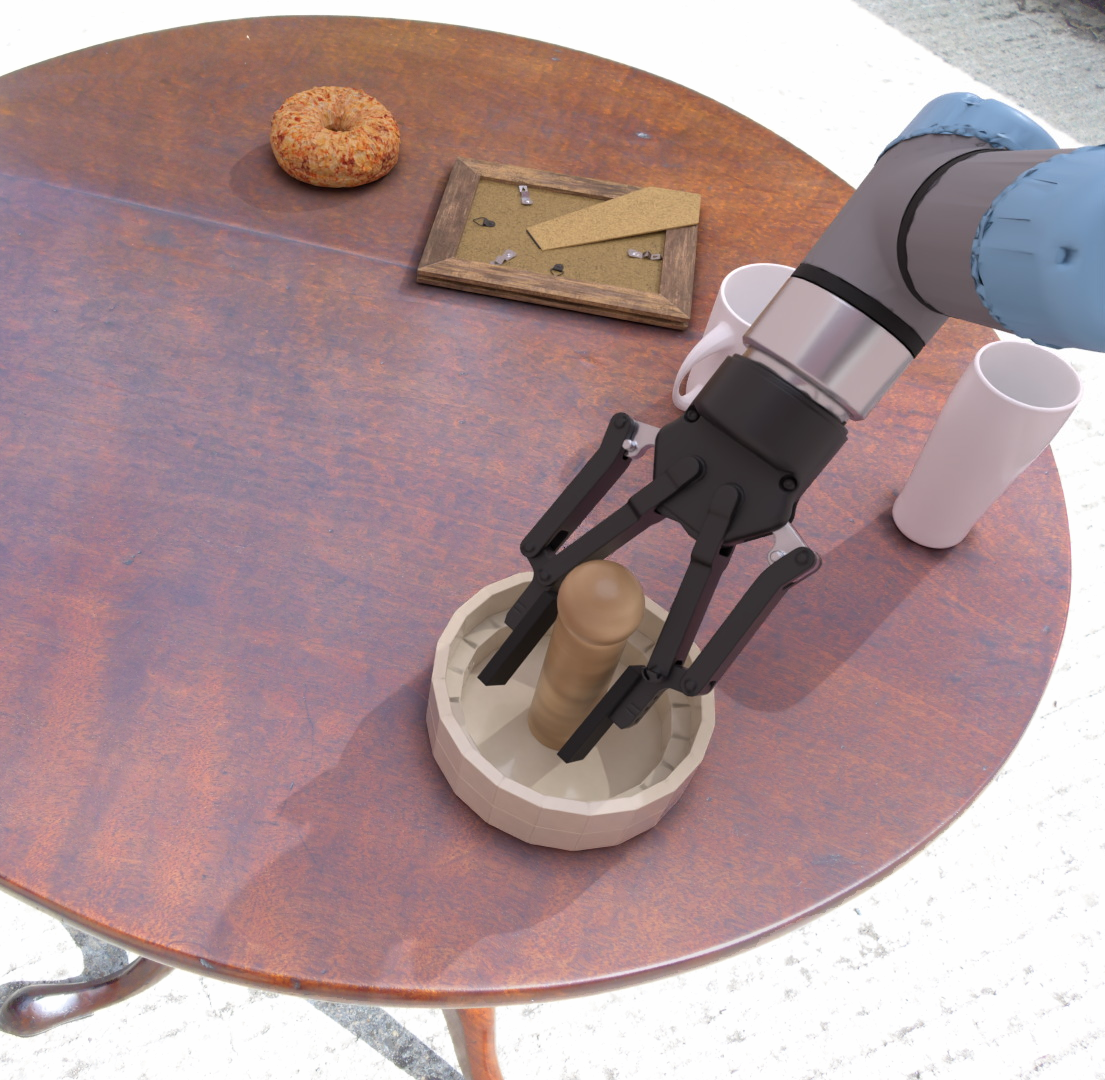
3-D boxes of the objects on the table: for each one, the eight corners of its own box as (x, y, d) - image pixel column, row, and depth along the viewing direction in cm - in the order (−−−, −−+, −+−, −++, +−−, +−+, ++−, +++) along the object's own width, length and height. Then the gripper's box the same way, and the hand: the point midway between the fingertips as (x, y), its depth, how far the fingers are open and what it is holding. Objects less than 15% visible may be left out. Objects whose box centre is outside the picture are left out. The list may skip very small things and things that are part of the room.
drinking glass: (885, 478, 82) (977, 326, 70) (976, 507, 81) (1086, 356, 69) (873, 541, 78) (969, 391, 66) (969, 572, 77) (1085, 424, 65)
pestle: (606, 709, 68) (666, 563, 56) (580, 767, 65) (637, 627, 53) (539, 679, 69) (583, 529, 57) (511, 735, 66) (551, 591, 54)
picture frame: (696, 210, 103) (455, 170, 106) (701, 194, 102) (457, 153, 104) (685, 333, 92) (416, 284, 94) (691, 316, 90) (417, 267, 93)
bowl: (721, 681, 70) (747, 635, 66) (640, 903, 61) (664, 866, 56) (490, 582, 74) (500, 532, 70) (380, 775, 65) (384, 732, 61)
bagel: (253, 184, 103) (250, 136, 99) (292, 112, 111) (290, 66, 107) (383, 206, 101) (385, 159, 98) (413, 132, 110) (416, 85, 106)
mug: (627, 396, 87) (659, 290, 78) (746, 357, 90) (788, 252, 82) (689, 469, 82) (730, 364, 73) (812, 425, 85) (864, 320, 77)
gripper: (957, 502, 55) (672, 827, 61) (675, 315, 63) (449, 616, 69) (949, 482, 49) (632, 847, 54) (637, 277, 57) (391, 612, 63)
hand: (530, 717), depth 62 cm, fingers open, 6 cm apart
